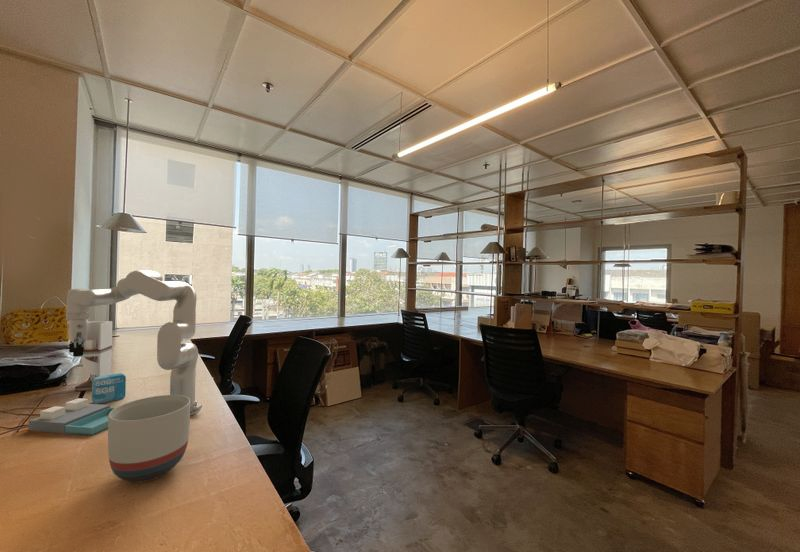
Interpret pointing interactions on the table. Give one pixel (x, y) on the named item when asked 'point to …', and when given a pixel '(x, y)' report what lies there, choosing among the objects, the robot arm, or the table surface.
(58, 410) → the beige block
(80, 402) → the beige block
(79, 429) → the box
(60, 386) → the table surface
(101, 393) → the data package
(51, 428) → the plate
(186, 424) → the planter
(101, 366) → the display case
